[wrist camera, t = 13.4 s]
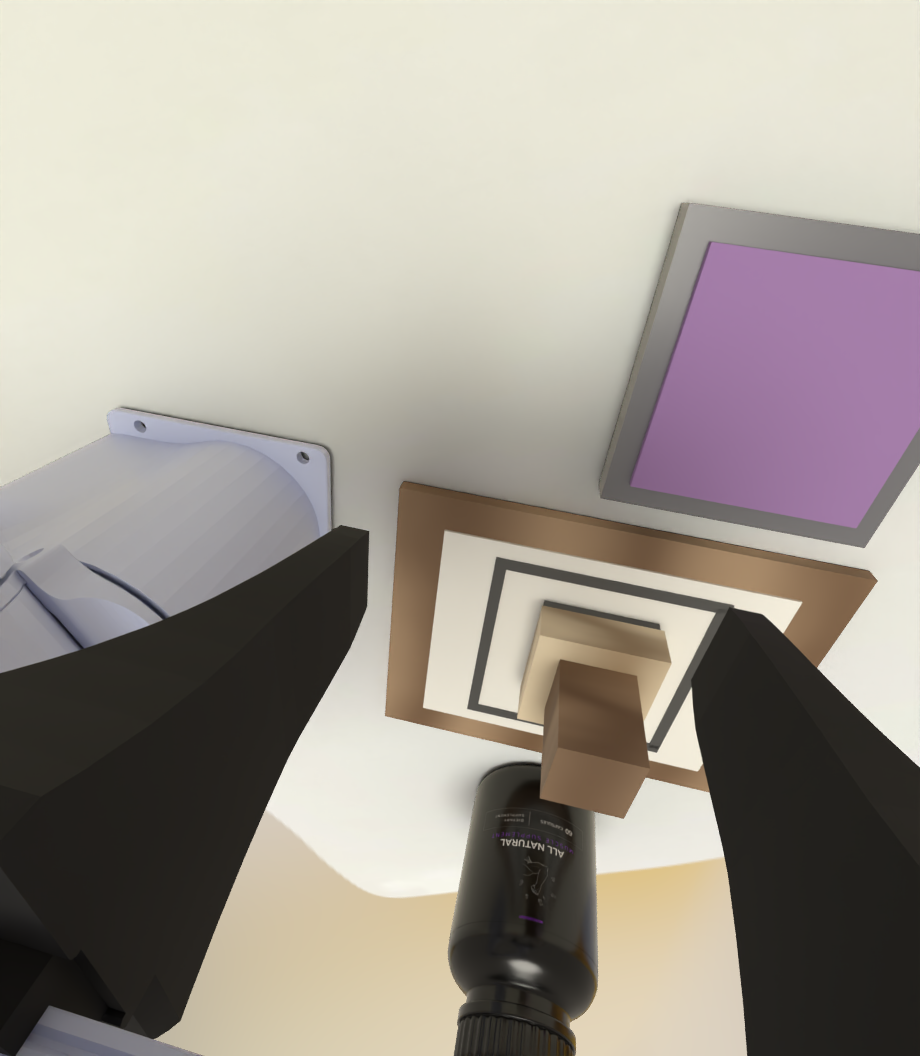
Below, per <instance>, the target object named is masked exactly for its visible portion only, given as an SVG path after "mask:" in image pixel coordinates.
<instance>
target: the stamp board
mask: <svg viewBox="0 0 920 1056" xmlns="http://www.w3.org/2000/svg"><path fill="white" fill-rule="evenodd" d="M876 583H877V579H876V578H875V577H874V576H873V575H872V573H871V572H870V571H866V570H860V569H855V568H850V567H845V566H840V565H835V564H829V563H824V562H819V561H814V560H809V559H804V558H798V557H793V556H788V555H783V554H778V553H772V552H767V551H762V550H757V549H752V548H747V547H741V546H736V545H731V544H726V543H721V542H716V541H710V540H705V539H700V538H695V537H690V536H684V535H679V534H674V533H669V532H664V531H659V530H653V529H648V528H643V527H638V526H633V525H627V524H622V523H617V522H612V521H607V520H602V519H596V518H591V517H586V516H581V515H576V514H571V513H565V512H560V511H555V510H550V509H545V508H539V507H534V506H529V505H524V504H519V503H514V502H508V501H503V500H498V499H493V498H488V497H483V496H477V495H472V494H467V493H462V492H457V491H451V490H446V489H441V488H436V487H431V486H426V485H420V484H415V483H410V482H405V481H404V482H403V483H402V485H401V486H400V490H399V505H398V521H397V537H396V553H395V568H394V584H393V600H392V616H391V631H390V647H389V663H388V679H387V694H386V710H385V716H387V717H392V718H396V719H400V720H404V721H409V722H413V723H417V724H421V725H426V726H430V727H434V728H438V729H443V730H447V731H451V732H455V733H460V734H464V735H468V736H472V737H477V738H481V739H485V740H489V741H494V742H498V743H502V744H506V745H511V746H515V747H519V748H523V749H528V750H532V751H536V752H540V753H542V747H543V728H544V725H543V724H539V723H534V722H530V721H526V720H521V719H517V715H518V705H519V696H520V687H521V683H522V679H523V675H524V672H525V668H526V664H527V660H528V657H529V653H530V649H531V645H532V641H533V638H534V634H535V630H536V626H537V623H538V619H539V615H540V611H541V608H542V605H543V604H544V600H546V601H551V602H556V603H561V604H566V605H570V606H575V607H580V608H585V609H590V610H594V611H599V612H604V613H609V614H614V615H618V616H623V617H628V618H633V619H638V620H642V621H647V622H652V623H657V624H660V629H661V630H662V631H665V635H666V640H667V644H668V649H669V653H670V658H671V662H672V664H671V666H670V668H669V670H668V672H667V674H666V676H665V679H664V681H663V683H662V685H661V687H660V689H659V691H658V693H657V695H656V697H655V699H654V701H653V704H652V706H651V708H650V710H649V712H648V714H647V716H646V718H645V720H644V729H645V736H646V743H647V750H648V757H649V764H650V770H649V772H648V774H647V776H646V778H651V779H655V780H659V781H663V782H668V783H672V784H676V785H680V786H685V787H689V788H693V789H697V790H702V791H706V792H710V791H709V787H708V783H707V778H706V774H705V770H704V766H703V761H702V757H701V752H700V748H699V744H698V739H697V734H696V730H695V721H694V712H693V700H692V686H691V679H692V677H693V675H694V673H695V671H696V669H697V668H698V666H699V664H700V662H701V660H702V658H703V656H704V654H705V652H706V651H707V649H708V647H709V645H710V643H711V641H712V639H713V637H714V635H715V633H716V632H717V630H718V628H719V626H720V624H721V622H722V620H723V618H724V616H725V615H726V613H727V611H728V609H729V607H731V608H736V609H741V610H745V611H750V612H755V613H760V614H763V615H764V616H765V617H766V618H767V619H768V620H770V621H771V622H772V623H773V624H774V625H775V626H776V627H777V628H778V629H779V630H780V631H781V632H782V633H783V634H784V635H785V636H786V637H787V638H788V639H789V640H790V641H791V642H792V643H793V644H794V645H795V646H796V647H797V648H798V649H799V650H800V651H801V652H802V653H803V654H804V655H805V656H806V657H807V659H808V660H809V661H810V662H811V663H812V664H813V665H814V666H815V667H816V668H817V667H818V665H819V664H820V663H821V661H822V660H823V658H824V657H825V655H826V654H827V653H828V651H829V650H830V648H831V647H832V645H833V644H834V643H835V641H836V640H837V638H838V637H839V635H840V634H841V633H842V631H843V630H844V628H845V627H846V625H847V624H848V623H849V621H850V620H851V618H852V617H853V615H854V614H855V613H856V611H857V610H858V608H859V607H860V605H861V604H862V603H863V601H864V600H865V598H866V597H867V595H868V594H869V593H870V591H871V590H872V588H873V587H874V585H875V584H876Z"/></svg>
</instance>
